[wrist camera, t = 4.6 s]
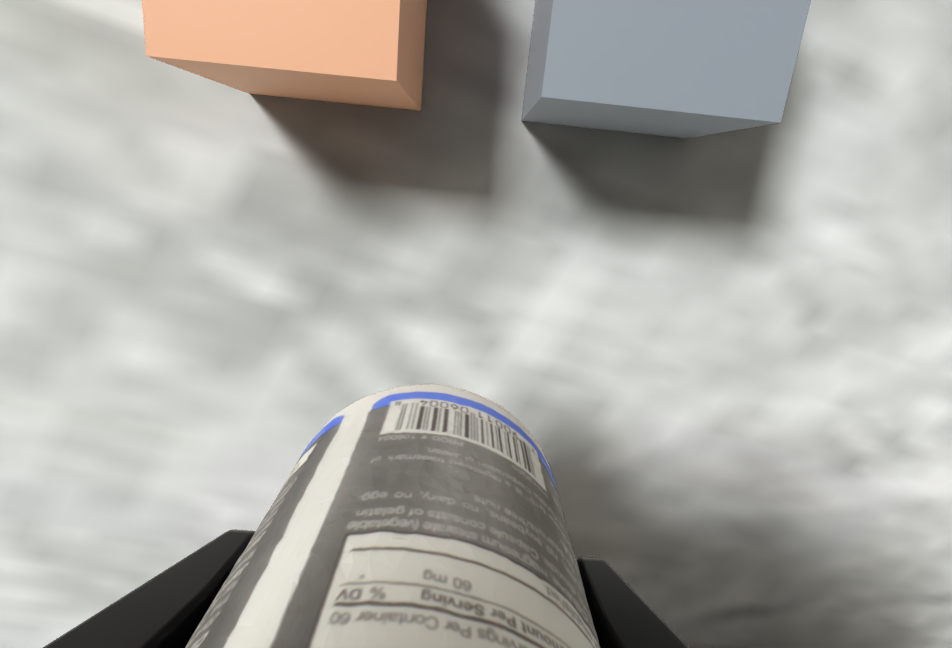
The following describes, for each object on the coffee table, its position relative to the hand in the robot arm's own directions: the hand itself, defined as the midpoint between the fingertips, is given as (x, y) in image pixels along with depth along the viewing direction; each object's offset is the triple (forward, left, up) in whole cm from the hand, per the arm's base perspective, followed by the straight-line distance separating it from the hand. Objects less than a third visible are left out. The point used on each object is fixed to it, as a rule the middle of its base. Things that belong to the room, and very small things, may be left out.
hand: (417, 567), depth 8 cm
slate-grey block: (-4, -10, -10) cm, 15 cm away
